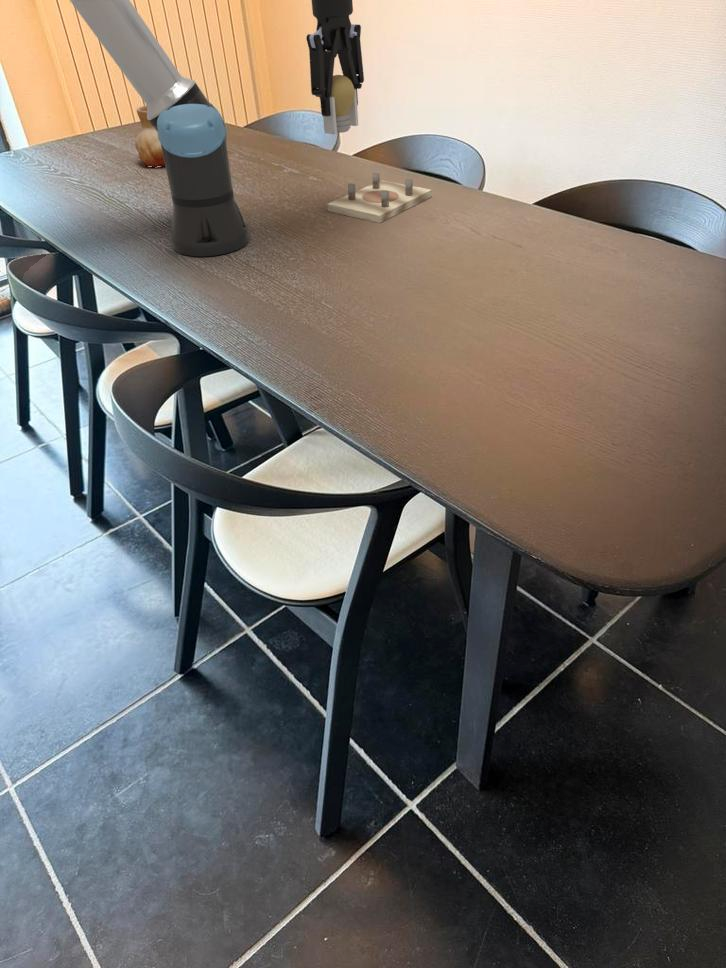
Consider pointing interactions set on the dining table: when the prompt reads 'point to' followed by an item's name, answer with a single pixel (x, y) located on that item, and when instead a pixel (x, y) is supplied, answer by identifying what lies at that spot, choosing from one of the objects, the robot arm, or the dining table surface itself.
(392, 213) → the pin nest
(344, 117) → the light bulb
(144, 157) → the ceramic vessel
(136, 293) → the dining table surface
